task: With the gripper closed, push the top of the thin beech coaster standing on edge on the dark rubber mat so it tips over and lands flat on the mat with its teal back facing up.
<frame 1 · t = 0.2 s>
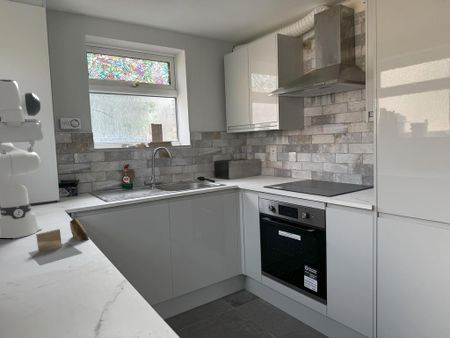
hand: (17, 153, 129), 38 cm above the worktop, tool pointing down, fingers open, 8 cm apart
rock: (80, 239, 137), on the worktop
coaster: (50, 249, 124), resting on mat
mat: (55, 253, 120), on the worktop
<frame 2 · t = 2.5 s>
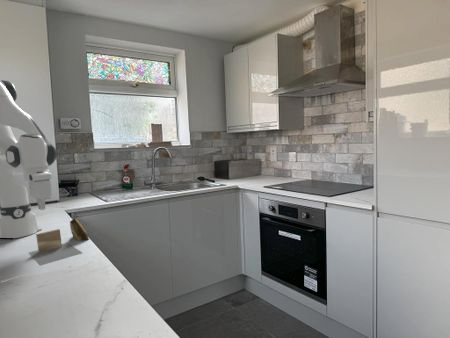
hand: (42, 209, 127), 16 cm above the worktop, tool pointing down, fingers closed
nothing on the worktop moved.
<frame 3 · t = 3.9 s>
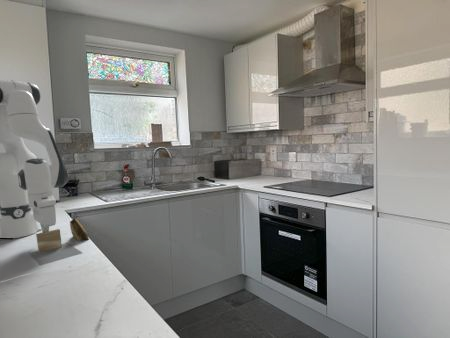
hand: (46, 233, 127), 6 cm above the worktop, tool pointing down, fingers closed
nothing on the worktop moved.
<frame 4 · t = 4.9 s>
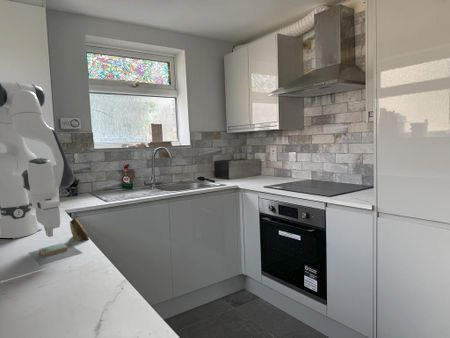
hand: (49, 236, 123), 6 cm above the worktop, tool pointing down, fingers closed
coaster: (50, 247, 124), point 1 cm above the worktop, tilted 90°, touching mat
everything else where it was.
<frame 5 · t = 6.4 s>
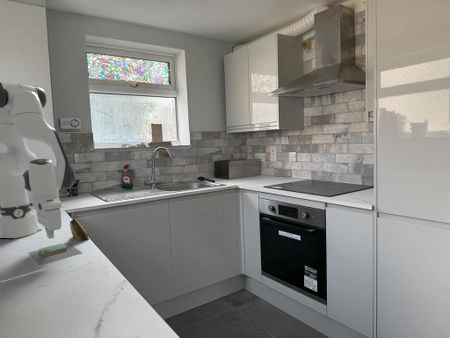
hand: (50, 237, 122), 6 cm above the worktop, tool pointing down, fingers closed
nothing on the worktop moved.
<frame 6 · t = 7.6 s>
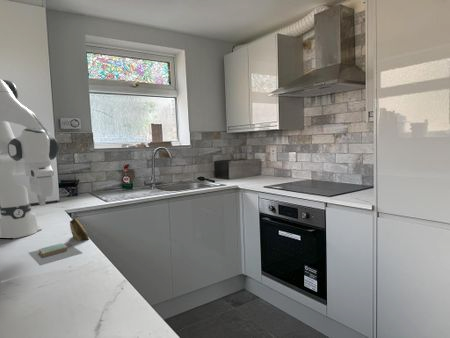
hand: (42, 205, 125), 18 cm above the worktop, tool pointing down, fingers closed
nothing on the worktop moved.
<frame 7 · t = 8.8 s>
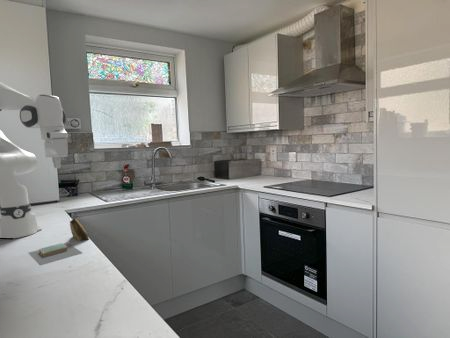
hand: (57, 168, 132), 31 cm above the worktop, tool pointing down, fingers closed
nothing on the worktop moved.
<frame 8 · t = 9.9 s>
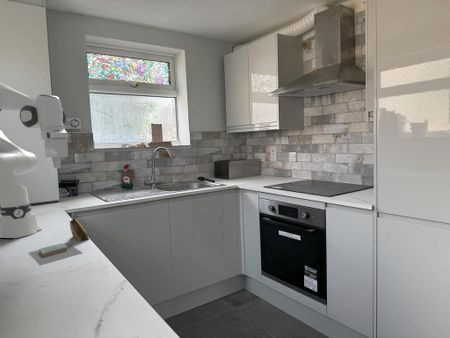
hand: (57, 168, 132), 31 cm above the worktop, tool pointing down, fingers closed
nothing on the worktop moved.
at the end: coaster tilted 90°; coaster inside the target area (4.2 cm from its centre), point 1.1 cm above the worktop; the gripper is holding nothing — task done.
